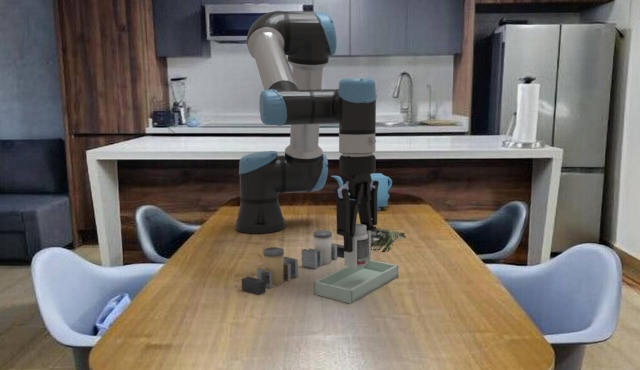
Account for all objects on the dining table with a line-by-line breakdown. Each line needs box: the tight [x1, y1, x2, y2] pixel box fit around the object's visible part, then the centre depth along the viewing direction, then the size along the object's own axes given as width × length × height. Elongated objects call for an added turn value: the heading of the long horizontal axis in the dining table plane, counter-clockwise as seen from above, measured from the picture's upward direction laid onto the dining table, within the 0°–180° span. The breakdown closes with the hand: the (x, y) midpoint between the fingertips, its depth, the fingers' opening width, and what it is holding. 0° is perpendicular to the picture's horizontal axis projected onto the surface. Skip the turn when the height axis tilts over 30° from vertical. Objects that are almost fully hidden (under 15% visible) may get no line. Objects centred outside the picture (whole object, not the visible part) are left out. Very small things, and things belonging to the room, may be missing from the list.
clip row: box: [241, 242, 344, 296], centre depth 125 cm, size 5×33×4 cm, turn 143°
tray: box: [313, 259, 399, 304], centre depth 115 cm, size 9×19×3 cm, turn 143°
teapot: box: [330, 172, 393, 213], centre depth 190 cm, size 22×11×14 cm, turn 96°
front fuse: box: [262, 246, 285, 287], centre depth 117 cm, size 4×4×7 cm
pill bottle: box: [354, 223, 368, 267], centre depth 114 cm, size 5×5×8 cm
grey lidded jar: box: [312, 229, 333, 265], centre depth 131 cm, size 4×4×7 cm
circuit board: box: [340, 227, 407, 253], centre depth 151 cm, size 25×18×4 cm
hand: (357, 262), depth 114 cm, fingers closed on pill bottle, 5 cm apart
